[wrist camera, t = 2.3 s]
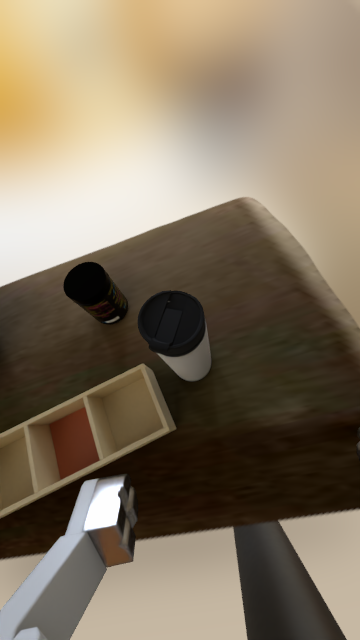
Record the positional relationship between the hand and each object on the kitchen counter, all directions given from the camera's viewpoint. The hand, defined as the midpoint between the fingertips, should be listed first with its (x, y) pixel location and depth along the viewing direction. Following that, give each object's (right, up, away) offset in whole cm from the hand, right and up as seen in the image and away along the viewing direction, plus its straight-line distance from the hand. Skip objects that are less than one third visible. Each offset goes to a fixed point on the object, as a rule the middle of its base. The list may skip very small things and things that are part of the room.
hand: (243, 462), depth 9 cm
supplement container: (-15, +7, +38) cm, 41 cm away
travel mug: (0, -2, +32) cm, 32 cm away
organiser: (-17, -14, +29) cm, 37 cm away
